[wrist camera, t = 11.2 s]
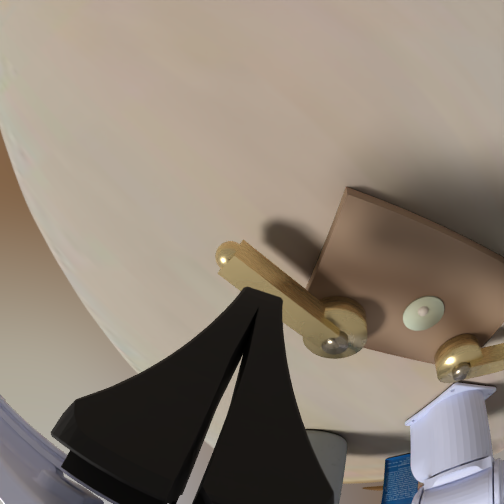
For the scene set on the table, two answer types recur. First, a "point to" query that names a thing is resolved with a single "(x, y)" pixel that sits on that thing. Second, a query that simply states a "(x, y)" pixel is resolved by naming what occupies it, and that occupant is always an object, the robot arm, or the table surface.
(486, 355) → the lever
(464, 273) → the base
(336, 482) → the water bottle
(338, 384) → the table surface
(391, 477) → the blue plastic bottle
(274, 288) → the lever
